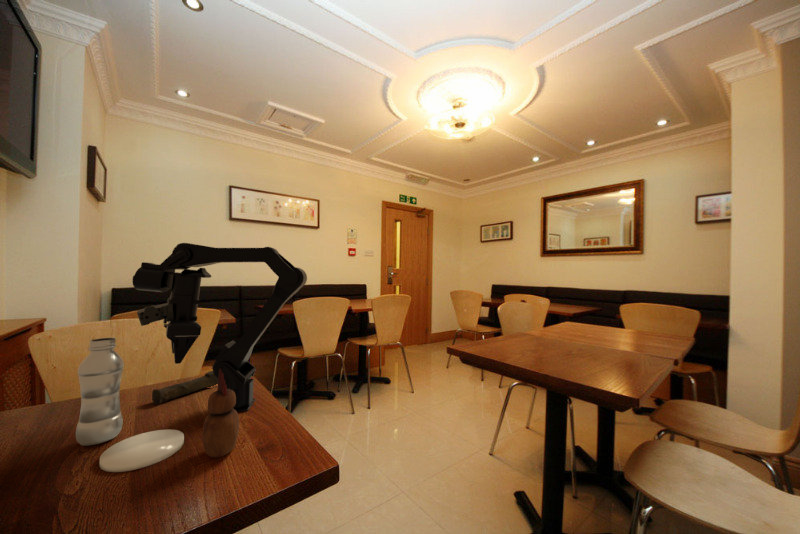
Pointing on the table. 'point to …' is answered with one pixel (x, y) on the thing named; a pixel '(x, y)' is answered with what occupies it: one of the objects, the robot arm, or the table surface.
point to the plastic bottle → (100, 393)
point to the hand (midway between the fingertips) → (176, 358)
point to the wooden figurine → (221, 421)
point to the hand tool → (183, 388)
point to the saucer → (141, 450)
